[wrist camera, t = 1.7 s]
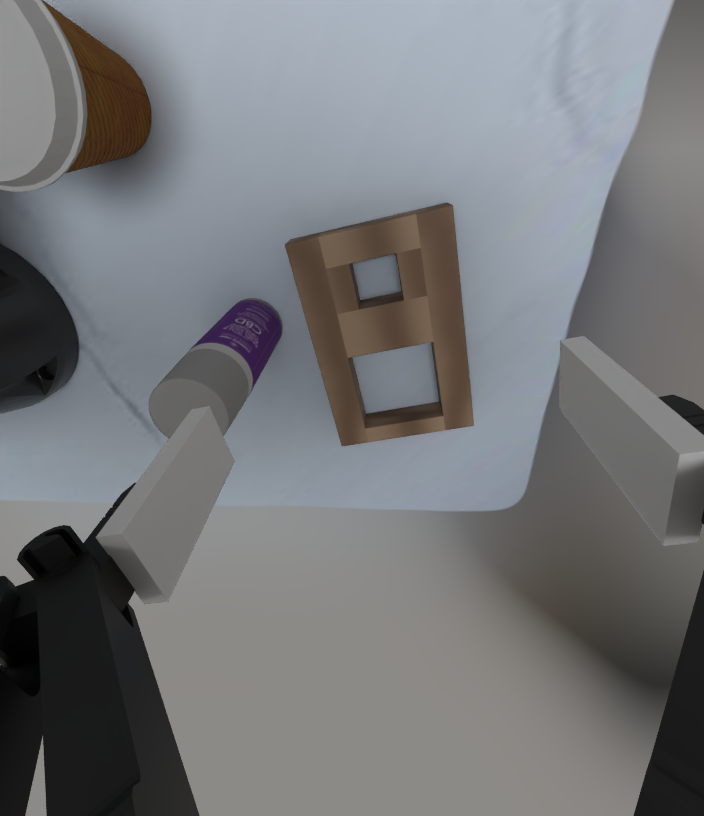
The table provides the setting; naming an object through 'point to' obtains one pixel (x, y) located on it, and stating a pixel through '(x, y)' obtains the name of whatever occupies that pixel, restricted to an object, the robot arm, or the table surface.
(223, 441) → the robot arm
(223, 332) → the container
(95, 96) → the disposable coffee cup
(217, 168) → the table surface
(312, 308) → the socket board
